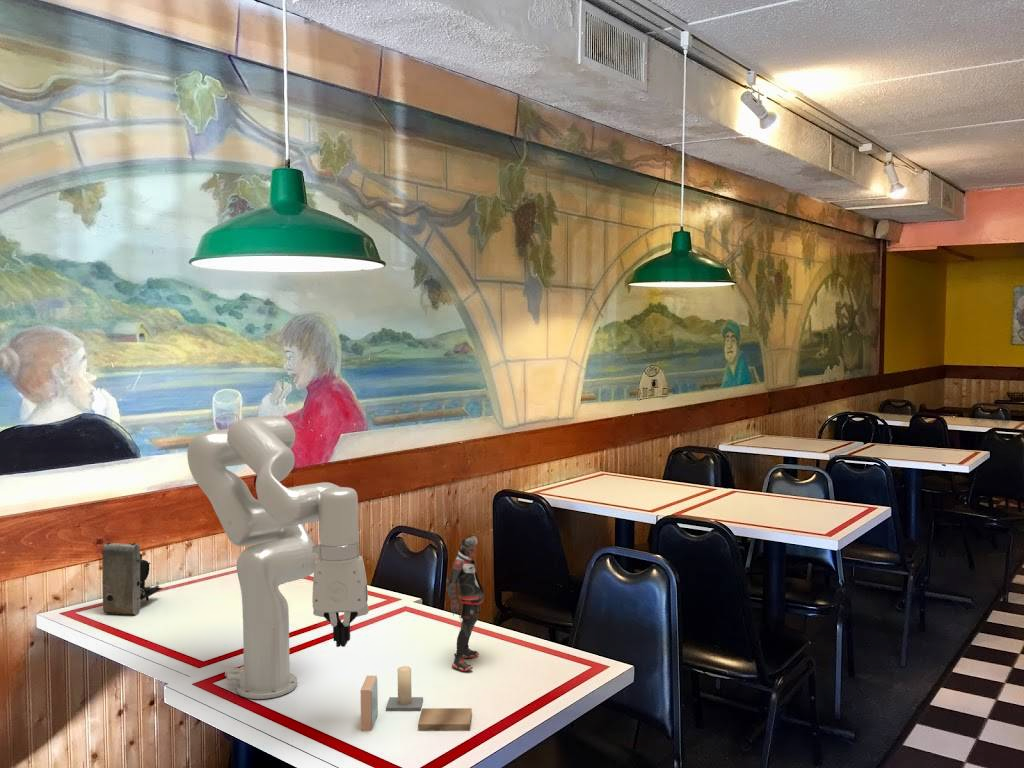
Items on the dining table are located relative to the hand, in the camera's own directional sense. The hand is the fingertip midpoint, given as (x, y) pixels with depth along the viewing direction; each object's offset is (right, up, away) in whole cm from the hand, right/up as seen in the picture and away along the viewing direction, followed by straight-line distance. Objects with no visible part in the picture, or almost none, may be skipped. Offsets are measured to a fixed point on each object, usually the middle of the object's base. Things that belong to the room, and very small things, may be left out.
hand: (342, 644), depth 163 cm
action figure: (+22, -14, +32) cm, 41 cm away
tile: (+5, -16, +1) cm, 17 cm away
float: (+11, -15, +9) cm, 21 cm away
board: (+20, -16, +1) cm, 26 cm away
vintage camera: (-74, -12, +73) cm, 104 cm away
